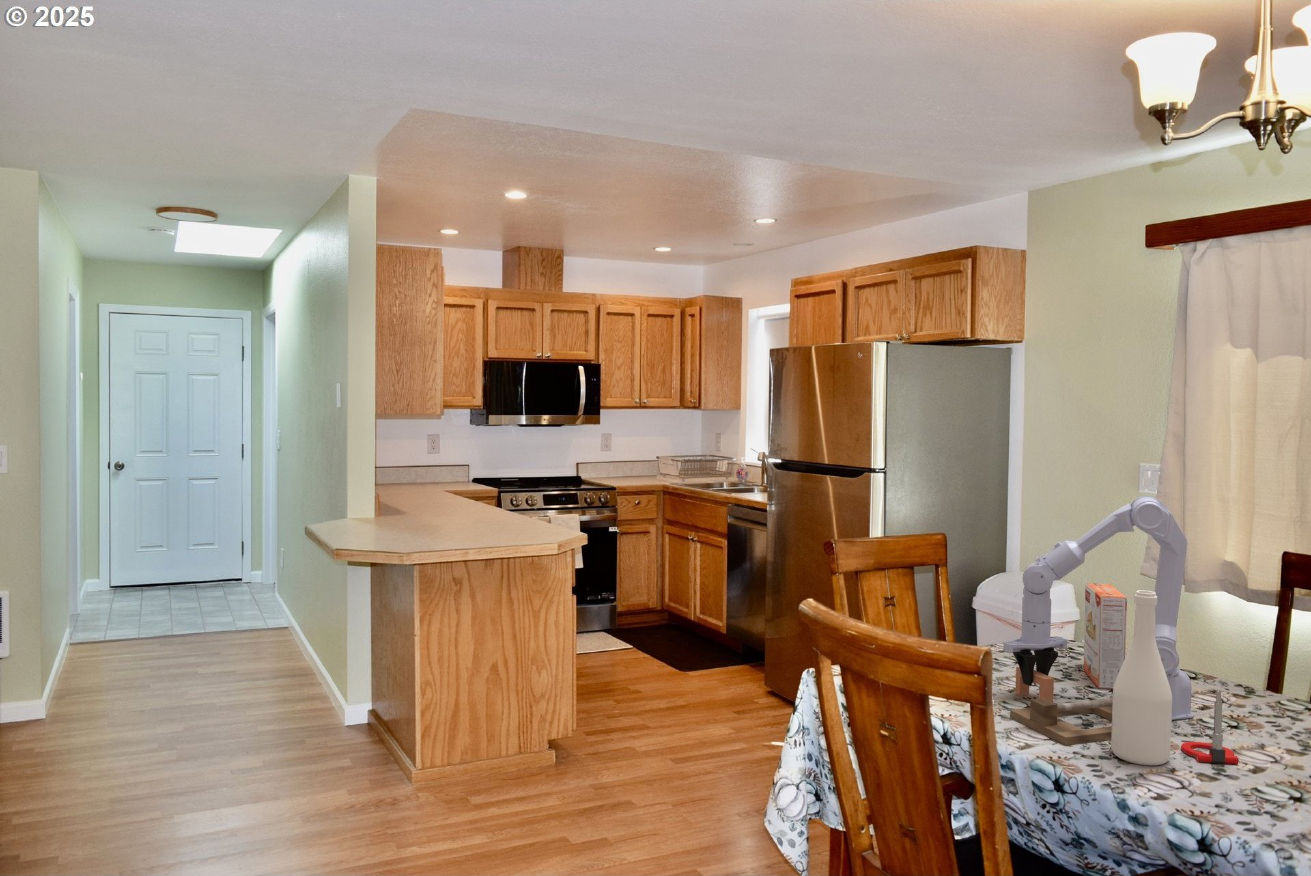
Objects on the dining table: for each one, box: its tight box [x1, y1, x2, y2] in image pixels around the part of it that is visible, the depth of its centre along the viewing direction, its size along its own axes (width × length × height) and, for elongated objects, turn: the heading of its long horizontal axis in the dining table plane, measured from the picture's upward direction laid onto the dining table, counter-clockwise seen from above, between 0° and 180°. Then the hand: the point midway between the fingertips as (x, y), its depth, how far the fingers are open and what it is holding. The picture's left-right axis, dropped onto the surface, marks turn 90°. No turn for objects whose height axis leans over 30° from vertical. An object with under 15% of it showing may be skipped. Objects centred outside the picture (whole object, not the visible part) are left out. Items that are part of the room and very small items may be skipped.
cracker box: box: [1083, 582, 1128, 690], centre depth 222 cm, size 14×6×21 cm, turn 168°
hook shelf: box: [1009, 697, 1113, 746], centre depth 193 cm, size 24×16×6 cm, turn 107°
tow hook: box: [1180, 689, 1239, 765], centre depth 178 cm, size 8×13×9 cm
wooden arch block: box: [1014, 666, 1055, 703], centre depth 209 cm, size 2×9×6 cm, turn 17°
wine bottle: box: [1110, 589, 1172, 766], centre depth 176 cm, size 10×10×30 cm
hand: (1034, 683), depth 209 cm, fingers open, 3 cm apart
